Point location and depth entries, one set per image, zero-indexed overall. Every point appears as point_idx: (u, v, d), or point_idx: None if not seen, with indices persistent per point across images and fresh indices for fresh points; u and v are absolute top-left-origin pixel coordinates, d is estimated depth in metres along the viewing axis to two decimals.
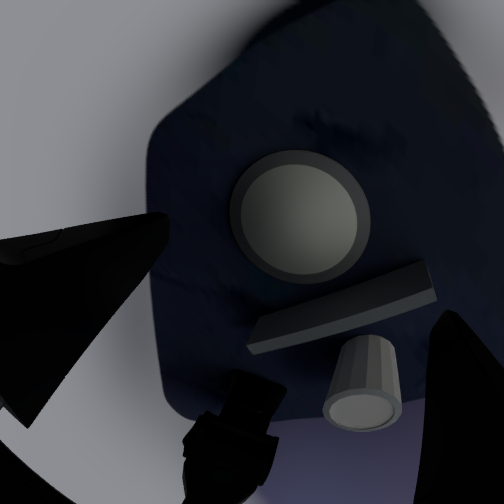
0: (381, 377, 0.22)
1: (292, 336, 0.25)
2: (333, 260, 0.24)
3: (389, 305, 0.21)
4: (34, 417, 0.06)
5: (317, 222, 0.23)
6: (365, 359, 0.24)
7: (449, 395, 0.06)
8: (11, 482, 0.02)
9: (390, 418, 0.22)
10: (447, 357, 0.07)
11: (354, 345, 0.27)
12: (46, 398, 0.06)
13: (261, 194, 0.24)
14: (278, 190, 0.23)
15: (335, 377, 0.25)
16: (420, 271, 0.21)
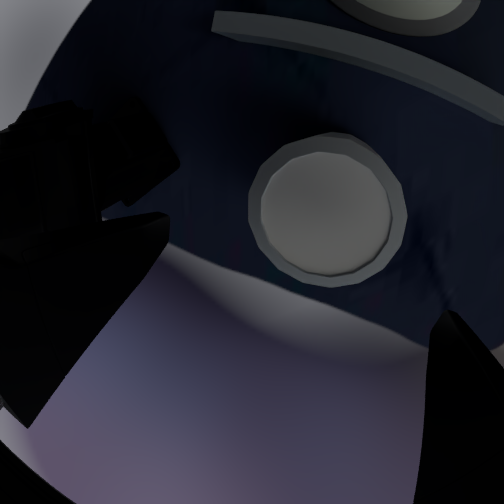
0: None
1: (302, 26, 0.12)
2: (405, 13, 0.12)
3: (469, 80, 0.10)
4: (34, 417, 0.06)
5: None
6: (368, 146, 0.14)
7: (449, 395, 0.06)
8: (11, 482, 0.02)
9: (356, 269, 0.13)
10: (447, 357, 0.07)
11: (346, 134, 0.16)
12: (45, 398, 0.06)
13: None
14: None
15: None
16: None
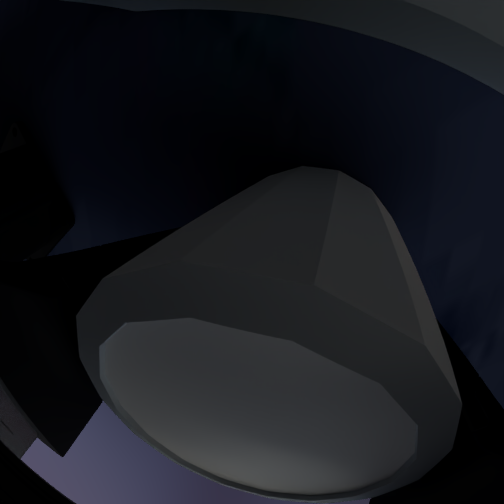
0: None
1: None
2: None
3: None
4: (70, 445, 0.06)
5: None
6: (378, 223, 0.06)
7: None
8: (11, 482, 0.02)
9: (319, 495, 0.05)
10: None
11: (329, 177, 0.08)
12: (81, 425, 0.06)
13: None
14: None
15: (220, 211, 0.06)
16: None
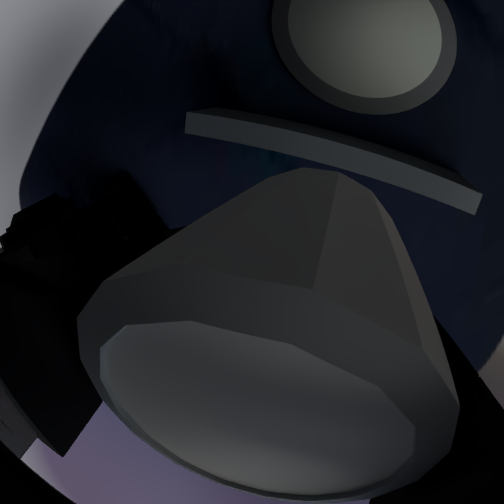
0: None
1: (266, 131, 0.15)
2: (373, 91, 0.15)
3: (426, 174, 0.13)
4: (70, 445, 0.06)
5: (389, 40, 0.13)
6: (378, 226, 0.06)
7: None
8: (11, 482, 0.02)
9: (318, 496, 0.05)
10: None
11: (329, 178, 0.08)
12: (81, 425, 0.06)
13: None
14: None
15: (220, 213, 0.06)
16: (460, 177, 0.15)
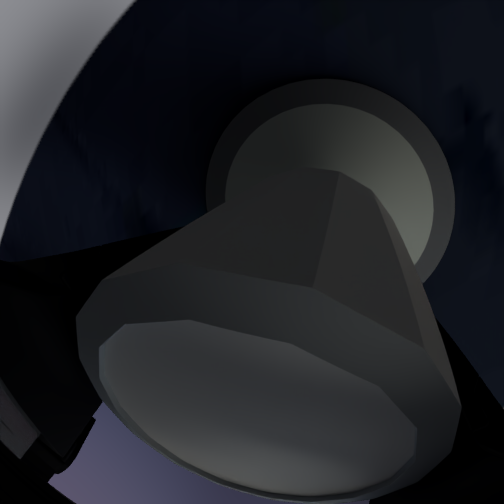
0: (438, 335, 0.04)
1: None
2: None
3: None
4: (70, 445, 0.06)
5: None
6: (378, 225, 0.06)
7: None
8: (11, 482, 0.02)
9: (318, 497, 0.05)
10: None
11: (329, 178, 0.08)
12: (81, 424, 0.06)
13: (315, 130, 0.11)
14: (347, 150, 0.11)
15: (220, 212, 0.06)
16: None
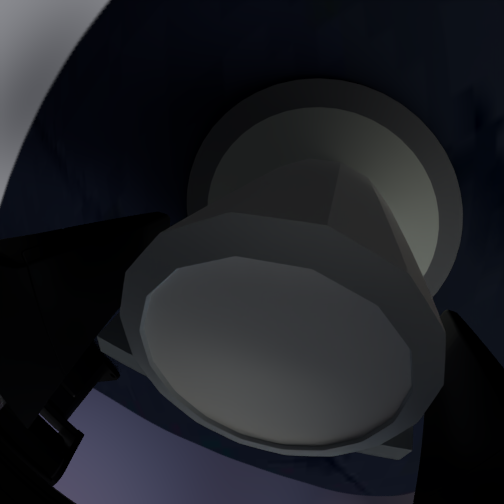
0: (424, 285, 0.05)
1: None
2: None
3: None
4: (34, 417, 0.06)
5: None
6: (374, 202, 0.07)
7: (449, 395, 0.06)
8: (11, 482, 0.02)
9: (329, 444, 0.06)
10: (447, 357, 0.07)
11: (332, 166, 0.09)
12: (46, 398, 0.06)
13: (306, 138, 0.10)
14: (343, 160, 0.10)
15: (246, 189, 0.07)
16: None
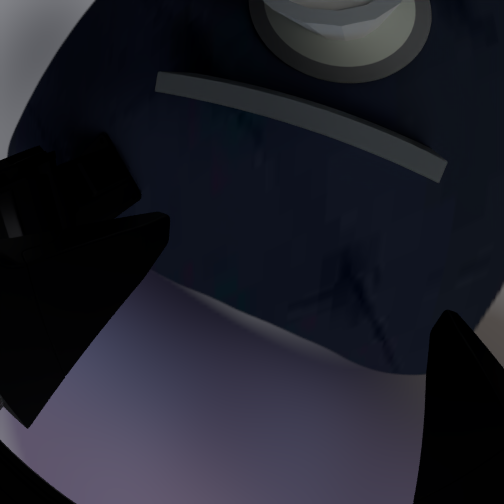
0: None
1: (228, 89, 0.15)
2: (341, 60, 0.15)
3: (386, 136, 0.13)
4: (34, 417, 0.06)
5: None
6: None
7: (449, 395, 0.06)
8: (11, 482, 0.02)
9: (368, 1, 0.08)
10: (447, 357, 0.07)
11: None
12: (45, 398, 0.06)
13: None
14: None
15: None
16: (427, 148, 0.15)
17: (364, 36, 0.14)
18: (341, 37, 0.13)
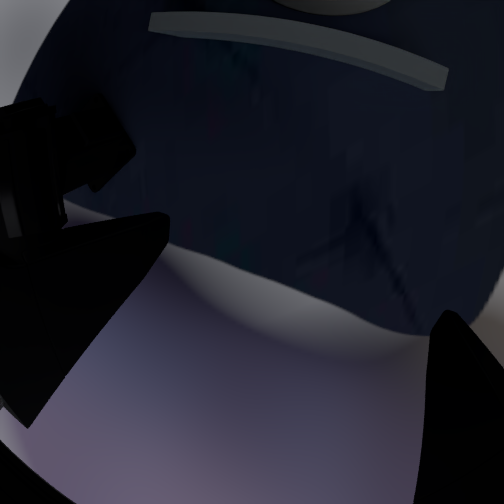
0: None
1: (220, 17, 0.13)
2: None
3: (383, 46, 0.11)
4: (34, 417, 0.06)
5: None
6: None
7: (449, 395, 0.06)
8: (11, 482, 0.02)
9: None
10: (447, 357, 0.07)
11: None
12: (45, 398, 0.06)
13: None
14: None
15: None
16: None
17: None
18: None
